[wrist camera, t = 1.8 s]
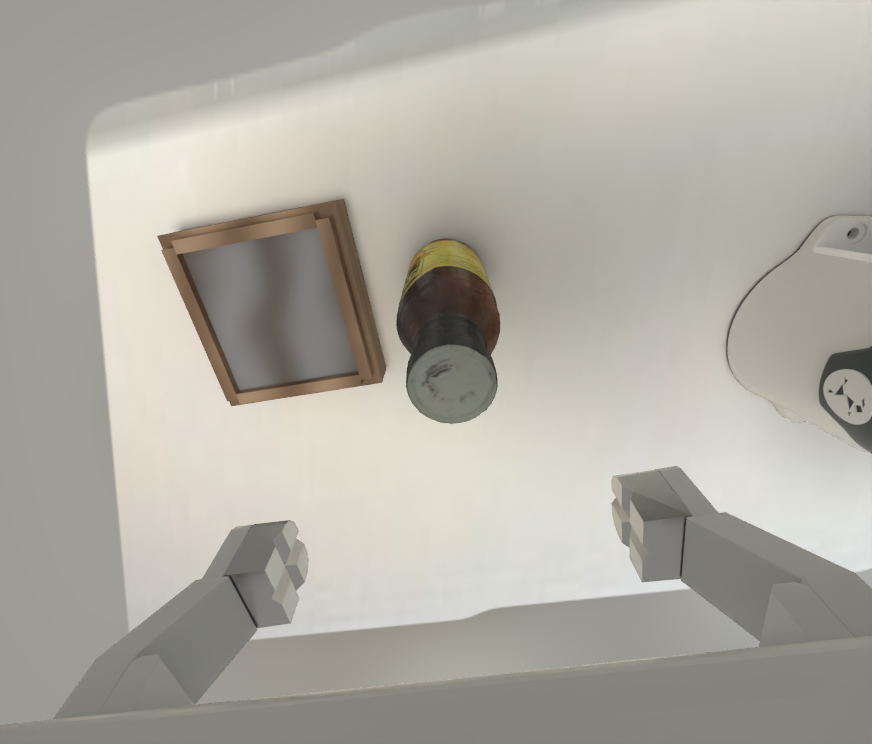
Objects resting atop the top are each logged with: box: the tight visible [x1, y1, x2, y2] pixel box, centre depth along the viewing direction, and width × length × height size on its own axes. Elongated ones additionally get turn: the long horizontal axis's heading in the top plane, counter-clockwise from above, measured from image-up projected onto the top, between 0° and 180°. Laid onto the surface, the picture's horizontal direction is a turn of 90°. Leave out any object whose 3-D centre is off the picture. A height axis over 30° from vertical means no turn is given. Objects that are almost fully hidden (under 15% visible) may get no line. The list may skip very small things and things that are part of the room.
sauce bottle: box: [397, 239, 500, 424], centre depth 27 cm, size 7×6×20 cm
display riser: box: [158, 199, 386, 406], centre depth 36 cm, size 14×15×4 cm
